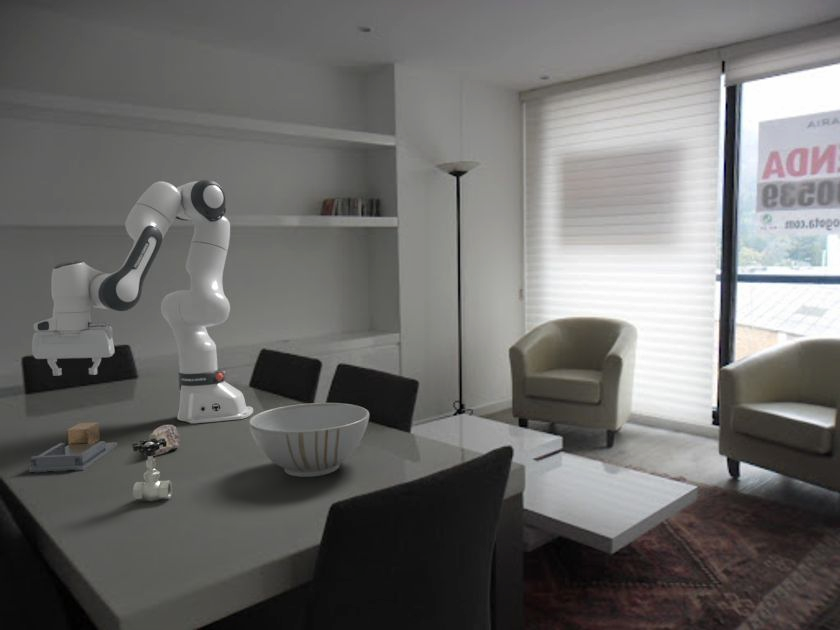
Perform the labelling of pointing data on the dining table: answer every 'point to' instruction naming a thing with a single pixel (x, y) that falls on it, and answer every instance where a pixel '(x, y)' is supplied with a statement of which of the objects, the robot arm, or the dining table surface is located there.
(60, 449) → the tray
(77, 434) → the cardboard shipping carton
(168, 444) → the mineral specimen
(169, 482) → the valve
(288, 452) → the decorative bowl
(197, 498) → the dining table surface
